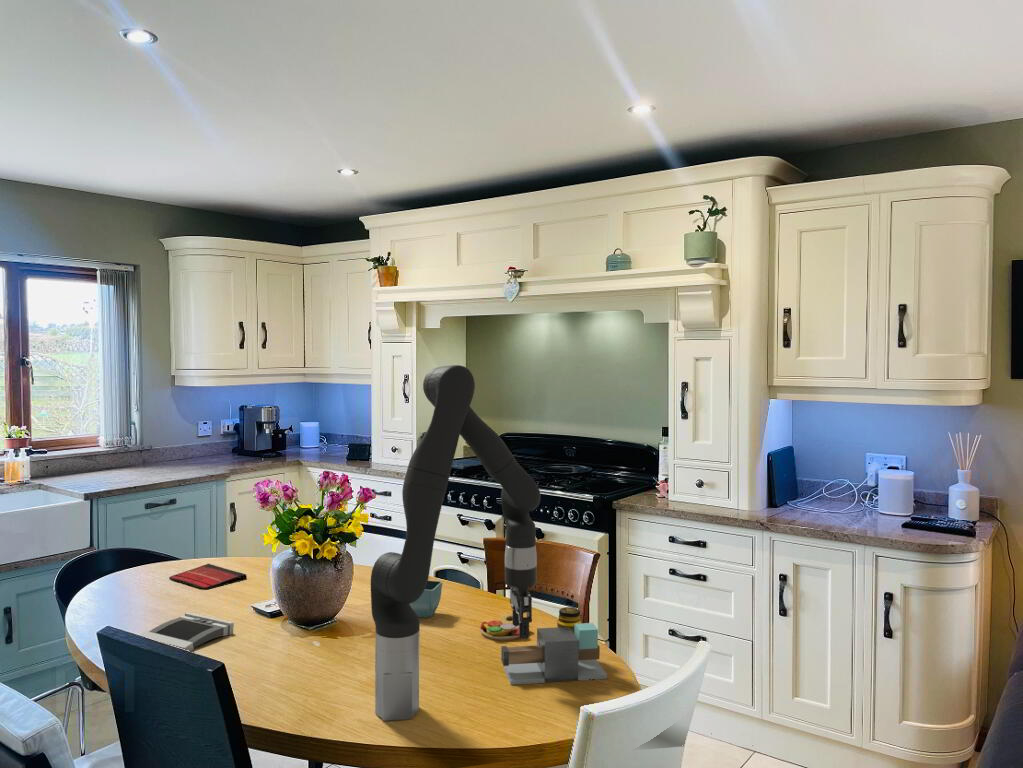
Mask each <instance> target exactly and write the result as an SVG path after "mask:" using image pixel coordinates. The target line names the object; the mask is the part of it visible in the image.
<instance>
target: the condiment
mask: <svg viewBox="0 0 1023 768" xmlns="http://www.w3.org/2000/svg"><path fill="white" fill-rule="evenodd" d="M558 613H559V614H558V620H557V622H556V623H557V624H556V627H570V629H571V630H572V632H573V633H574V631H575V624H581V623H582V621H581V616H580V615H581V612H580V610H579V609H578V608H576V607H572V606H571V607H570V606H566V607H562V608H560V609H559V611H558Z"/></svg>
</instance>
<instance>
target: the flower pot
mask: <svg viewBox="0 0 1023 768" xmlns="http://www.w3.org/2000/svg"><path fill="white" fill-rule="evenodd" d="M442 588H443V581H440V580H429V579H428V581H427V585H426V587H425V590H424V592H423V593H422V595H421V596H420V598H419V599H418V600H416V601H415V602H413V603H409V604H410V606H411V607H412V609H413V610H414V611H415V612H416V613H417V615H418V616H419V618H424V619H425V618H426V619H429V618H430V617H432V616H433V614H435V612H436V611H437V609H438V608H439V605H440V602H441V597H442V590H443V589H442Z"/></svg>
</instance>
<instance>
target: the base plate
mask: <svg viewBox="0 0 1023 768" xmlns="http://www.w3.org/2000/svg"><path fill="white" fill-rule="evenodd" d="M503 667H504V668H503V670H504V672H505V675H506V677H507V679H508V682H509V684H510V686H512V685H514V686H515V685H528V684H530V685H531V684H543V683H545V681H546V680H545V678H544V676H543V674H542V672H541V670H540V668H539V666H538V665H537V663H527V664H509V666H503ZM560 678H561V677H560ZM564 678H565V677H562V679H564ZM570 678H571V677H569V679H570ZM572 678H574V677H572ZM572 678H571V679H572ZM577 678H578V680H579V681H592V679H595V680H606V679H608V673H607V672H606V670H605V669H604V668H603V667H602V666H601V664H600V662H598V659H596V660H578V677H577V676H576V678H575V679H576V680H577ZM550 679H551V678H550ZM550 679H549V681H548V682H547V683H559V682H558V681H559V680H557V682H556V681H555V682H553V681H552V682H551V681H550ZM556 679H557V678H556ZM589 679H591V680H589ZM566 680H567V679H566ZM572 680H573V679H572ZM572 680H570V681H569V682H573V681H572ZM563 682H566V681H565V680H564V681H563ZM545 684H546V683H545Z"/></svg>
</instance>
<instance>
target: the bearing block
mask: <svg viewBox="0 0 1023 768" xmlns="http://www.w3.org/2000/svg"><path fill="white" fill-rule="evenodd" d="M536 645H541V647H542V648H543V662H542V663H537V665H538V666H539V668H540V670H541V672H542V674H543V676H544V678H545V680H546V681H545V684H546V683H549V682H548V681H549V679H550V678H551V679H550V681H551V682H550V683H561V682H562V681H563V682H575V681H574V680H576V679H575V678H576V676H577V677H578V654H579V640H578V639H577V637H576V636H575V634H574V633H573V632H572V630H571V629H570V627H557V626H556V627H537V629H536ZM560 677H561V678H560ZM562 677H565V678H564V679H562ZM569 677H571V678H572V677H574V678H572V679H573V680H572V679H571V678H570V679H569ZM556 678H557V679H556ZM566 679H567V680H566ZM557 680H559V681H558V682H557ZM564 680H565V681H564ZM570 680H572V681H570ZM577 680H578V678H577ZM552 681H553V682H552ZM555 681H556V682H555ZM563 682H562V683H563Z"/></svg>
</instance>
